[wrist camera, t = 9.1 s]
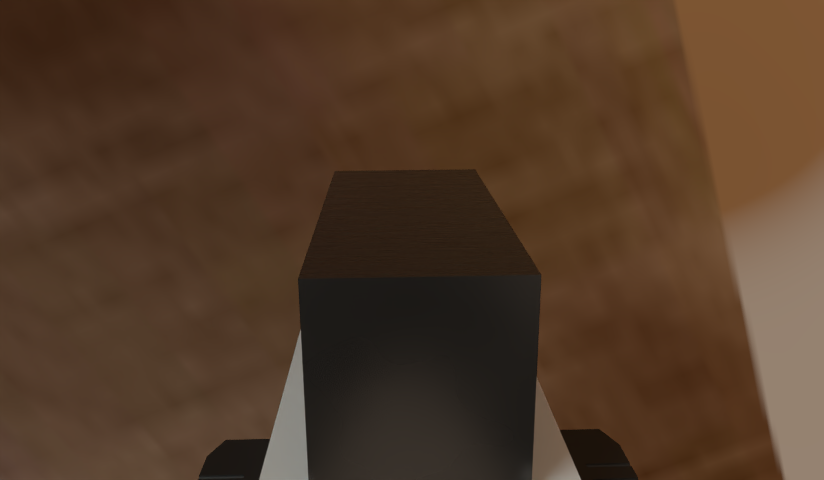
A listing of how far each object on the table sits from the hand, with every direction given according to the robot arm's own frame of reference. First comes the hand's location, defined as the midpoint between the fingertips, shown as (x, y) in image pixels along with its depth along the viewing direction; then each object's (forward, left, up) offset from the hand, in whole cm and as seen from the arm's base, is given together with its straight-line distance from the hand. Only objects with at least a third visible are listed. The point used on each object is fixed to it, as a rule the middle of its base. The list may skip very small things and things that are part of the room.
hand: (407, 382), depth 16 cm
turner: (0, -6, -1) cm, 6 cm away
